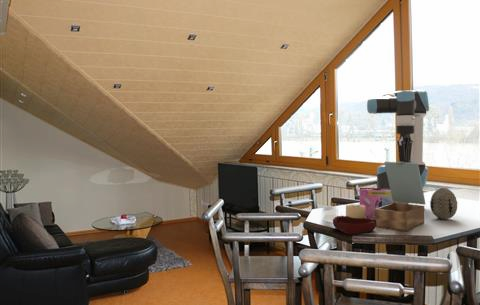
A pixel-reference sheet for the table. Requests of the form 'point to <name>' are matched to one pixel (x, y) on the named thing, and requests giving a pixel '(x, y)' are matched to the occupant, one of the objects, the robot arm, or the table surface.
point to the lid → (405, 182)
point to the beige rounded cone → (355, 211)
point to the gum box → (375, 199)
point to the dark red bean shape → (354, 224)
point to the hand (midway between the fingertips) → (404, 176)
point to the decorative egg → (443, 203)
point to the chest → (399, 216)
